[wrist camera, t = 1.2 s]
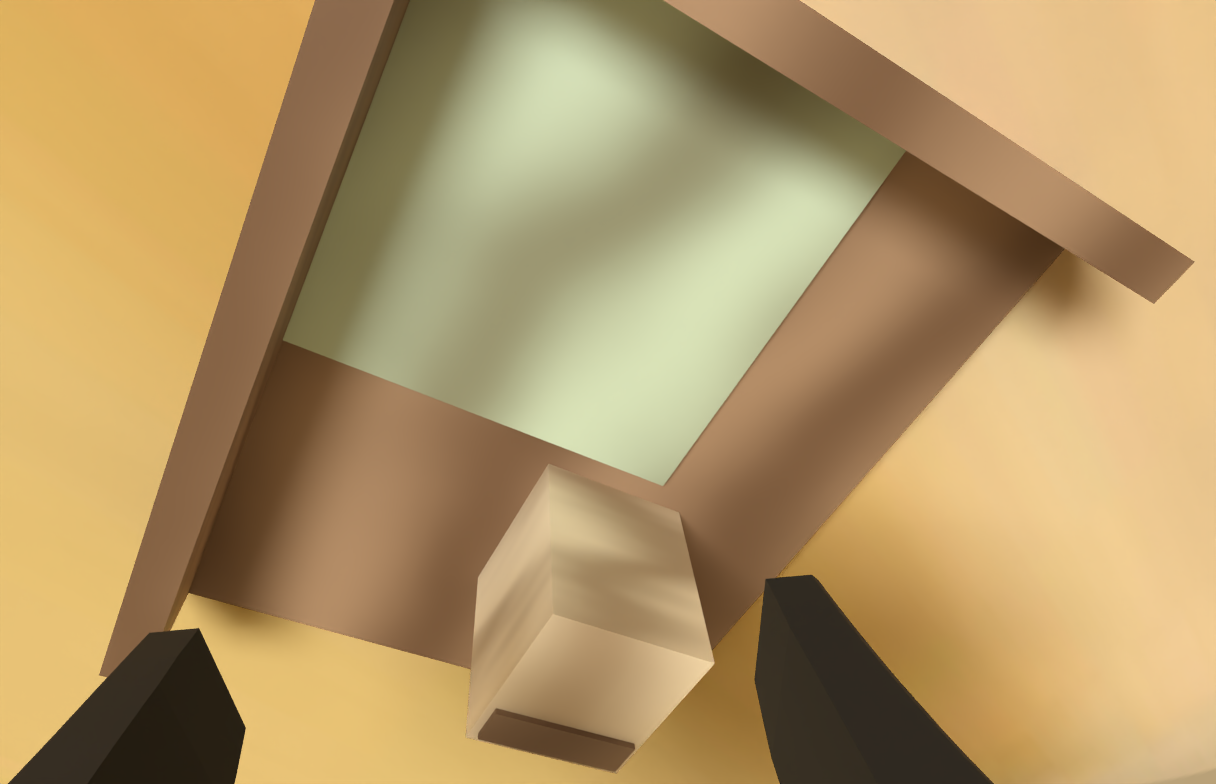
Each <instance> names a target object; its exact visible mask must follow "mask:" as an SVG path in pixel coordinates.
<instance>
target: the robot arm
mask: <svg viewBox="0 0 1216 784" xmlns="http://www.w3.org/2000/svg"><path fill="white" fill-rule="evenodd" d="M755 684H756V689H757V694H758V699H759V703H760V708H761V713H762V717H763V722H764V727H765V731H766V735H767V740H768V744H769V749H770V753H771V757H772V761H773V764H774V767H775V770H776V773H777V776H778V779H779V782H780V784H994V783H993V782H992V781H991V780H990V779H989V778H988V777H987V776H986V775H985V774H984V773H983V772H982V771H981V770H980V769H979V768H978V767H977V766H976V765H975V764H974V763H973V762H972V761H971V760H970V759H969V758H968V757H967V756H966V755H965V754H964V752H963V751H962V750H961V749H960V748H959V747H958V746H957V745H956V744H955V743H954V742H953V741H952V740H951V738H950V737H949V736H948V735H947V734H946V733H945V732H944V731H943V730H942V729H941V728H940V727H939V725H938V724H937V723H936V722H935V721H934V720H933V719H932V718H931V716H930V715H929V714H928V713H927V712H926V711H925V710H924V709H923V707H922V706H921V705H920V704H919V703H918V702H917V701H916V700H915V698H914V697H913V696H912V695H911V694H910V693H909V692H908V691H907V689H906V688H905V687H904V686H903V685H902V684H901V683H900V681H899V680H898V679H897V678H896V677H895V676H894V674H893V673H892V672H891V671H890V670H889V669H888V667H887V666H886V665H885V664H884V663H883V661H882V660H881V659H880V658H879V657H878V655H877V654H876V653H875V652H874V650H873V649H872V648H871V647H870V646H869V644H868V643H867V642H866V641H865V639H864V638H863V637H862V636H861V635H860V633H859V632H858V631H857V630H856V628H855V627H854V626H853V625H852V623H851V622H850V621H849V619H848V618H847V617H846V616H845V614H844V613H843V612H842V611H841V609H840V608H839V607H838V605H837V604H836V603H835V602H834V600H833V599H832V598H831V596H830V595H829V594H828V592H827V591H826V590H825V588H824V587H823V586H822V584H821V583H820V582H819V581H818V580H817V579H816V578H815V577H814V576H812V575H804V576H792V577H781V578H769V579H765V588H764V597H763V606H762V616H761V625H760V634H759V644H758V653H757V662H756V671H755ZM245 729H246V727H245V725H244V723H243V721H242V719H241V717H240V715H239V713H238V710H237V708H236V706H235V704H234V702H233V700H232V698H231V695H230V693H229V691H228V689H227V687H226V685H225V683H224V681H223V678H222V676H221V674H220V672H219V670H218V668H217V666H216V663H215V661H214V659H213V657H212V655H211V653H210V651H209V648H208V646H207V644H206V642H205V640H204V638H203V636H202V634H201V631H200V629H199V628H197V629H186V630H175V631H163V632H152V633H149V634H148V635H147V636H146V637H145V638H144V639H143V640H142V641H141V642H140V643H139V644H138V645H137V646H136V647H135V648H134V649H133V650H132V651H131V653H130V654H129V655H128V656H127V657H126V658H125V659H124V660H123V661H122V662H121V663H120V664H119V665H118V667H117V668H116V669H115V670H114V671H113V672H112V673H111V674H110V675H109V676H108V677H107V678H106V679H105V681H104V682H103V683H102V684H101V685H100V686H99V687H98V688H97V689H96V690H95V691H94V692H93V694H92V695H91V696H90V697H89V698H88V699H87V700H86V701H85V702H84V703H83V704H82V705H81V707H80V708H79V709H78V710H77V711H76V712H75V713H74V714H73V715H72V716H71V717H70V718H69V720H68V721H67V722H66V723H65V724H64V725H63V726H62V727H61V728H60V729H59V730H58V731H57V732H56V734H55V735H54V736H53V737H52V738H51V739H50V740H49V741H48V742H47V743H46V744H45V745H44V746H43V747H42V749H41V750H40V751H39V752H38V753H37V754H36V755H35V756H34V757H33V758H32V759H31V760H30V761H29V762H28V763H27V764H26V765H25V766H24V767H23V768H22V770H21V771H20V772H19V773H18V774H17V775H16V776H15V777H14V778H13V779H12V780H11V781H10V782H9V783H8V784H234V783H235V778H236V774H237V769H238V764H239V759H240V754H241V749H242V744H243V739H244V734H245Z"/></svg>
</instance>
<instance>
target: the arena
mask: <svg viewBox="0 0 1216 784" xmlns="http://www.w3.org/2000/svg"><path fill="white" fill-rule="evenodd" d="M1064 249H1066V250H1068V251H1069V252H1071V253H1073V254H1074V255H1076V256H1077V257H1079V258H1081V259H1082V260H1084V261H1086V262H1087V263H1089V264H1090V265H1092V266H1094V267H1095V268H1097V269H1098V270H1100V271H1102V272H1103V273H1105V274H1107V275H1108V276H1110V277H1111V278H1113V279H1115V280H1116V281H1118V282H1119V283H1121V284H1123V285H1124V286H1126V287H1128V288H1129V289H1131V290H1132V291H1134V292H1136V293H1137V294H1139V295H1141V296H1142V297H1144V298H1145V299H1147V300H1149V301H1150V302H1152V303H1153V304H1154V303H1155V302H1156V301H1157V300H1158V299H1159V298H1160V297H1161V296H1162V295H1163V294H1164V293H1165V292H1166V291H1167V290H1168V289H1169V288H1170V287H1171V286H1172V285H1173V284H1174V283H1175V282H1176V281H1177V280H1178V279H1179V278H1180V276H1181V275H1182V274H1183V273H1184V272H1185V271H1186V270H1187V269H1188V268H1189V267H1190V266H1191V265H1192V264H1193V263H1194V261H1193V260H1191V259H1190V258H1188V257H1187V256H1185V255H1183V254H1182V253H1180V252H1179V251H1177V250H1176V249H1174V248H1173V247H1171V246H1170V245H1168V244H1167V243H1165V242H1164V241H1162V240H1161V239H1159V238H1158V237H1156V236H1155V235H1153V234H1152V233H1150V232H1149V231H1147V230H1146V229H1144V228H1143V227H1141V226H1140V225H1138V224H1137V223H1135V222H1134V221H1132V220H1131V219H1129V218H1128V217H1126V216H1125V215H1123V214H1122V213H1120V212H1119V211H1117V210H1115V209H1114V208H1112V207H1111V206H1109V205H1108V204H1106V203H1105V202H1103V201H1102V200H1100V199H1099V198H1097V197H1096V196H1094V195H1093V194H1091V193H1090V192H1088V191H1087V190H1085V189H1084V188H1082V187H1081V186H1079V185H1078V184H1076V183H1075V182H1073V181H1072V180H1070V179H1069V178H1067V177H1066V176H1064V175H1063V174H1061V173H1060V172H1058V171H1057V170H1055V169H1054V168H1052V167H1051V166H1049V165H1047V164H1046V163H1044V162H1043V161H1041V160H1040V159H1038V158H1037V157H1035V156H1034V155H1032V154H1031V153H1029V152H1028V151H1026V150H1025V149H1023V148H1022V147H1020V146H1019V145H1017V144H1016V143H1014V142H1013V141H1011V140H1010V139H1008V138H1007V137H1005V136H1004V135H1002V134H1001V133H999V132H998V131H996V130H995V129H993V128H992V127H990V126H989V125H987V124H986V123H984V122H983V121H981V120H979V119H978V118H976V117H975V116H973V115H972V114H970V113H969V112H967V111H966V110H964V109H963V108H961V107H960V106H958V105H957V104H955V103H954V102H952V101H951V100H949V99H948V98H946V97H945V96H943V95H942V94H940V93H939V92H937V91H936V90H934V89H933V88H931V87H930V86H928V85H927V84H925V83H924V82H922V81H921V80H919V79H918V78H916V77H915V76H913V75H911V74H910V73H908V72H907V71H905V70H904V69H902V68H901V67H899V66H898V65H896V64H895V63H893V62H892V61H890V60H889V59H887V58H886V57H884V56H883V55H881V54H880V53H878V52H877V51H875V50H874V49H872V48H871V47H869V46H868V45H866V44H865V43H863V42H862V41H860V40H859V39H857V38H856V37H854V36H853V35H851V34H850V33H848V32H847V31H845V30H843V29H842V28H840V27H839V26H837V25H836V24H834V23H833V22H831V21H830V20H828V19H827V18H825V17H824V16H822V15H821V14H819V13H818V12H816V11H815V10H813V9H812V8H810V7H809V6H807V5H806V4H804V3H803V2H801V1H800V0H315V3H314V6H313V9H312V12H311V15H310V18H309V21H308V25H307V28H306V31H305V34H304V37H303V40H302V43H301V46H300V49H299V53H298V56H297V59H296V62H295V65H294V68H293V71H292V74H291V78H290V81H289V84H288V87H287V90H286V93H285V96H284V99H283V103H282V106H281V109H280V112H279V115H278V118H277V121H276V124H275V128H274V131H273V134H272V137H271V140H270V143H269V146H268V149H267V153H266V156H265V159H264V162H263V165H262V168H261V171H260V174H259V178H258V181H257V184H256V187H255V190H254V193H253V196H252V199H251V202H250V206H249V209H248V212H247V215H246V218H245V221H244V224H243V227H242V231H241V234H240V237H239V240H238V243H237V246H236V249H235V252H234V256H233V259H232V262H231V265H230V268H229V271H228V274H227V277H226V281H225V284H224V287H223V290H222V293H221V296H220V299H219V302H218V306H217V309H216V312H215V315H214V318H213V321H212V324H211V327H210V330H209V334H208V337H207V340H206V343H205V346H204V349H203V352H202V355H201V359H200V362H199V365H198V368H197V371H196V374H195V377H194V380H193V384H192V387H191V390H190V393H189V396H188V399H187V402H186V405H185V409H184V412H183V415H182V418H181V421H180V424H179V427H178V430H177V434H176V437H175V440H174V443H173V446H172V449H171V452H170V455H169V459H168V462H167V465H166V468H165V471H164V474H163V477H162V480H161V483H160V487H159V490H158V493H157V496H156V499H155V502H154V505H153V508H152V512H151V515H150V518H149V521H148V524H147V527H146V530H145V533H144V537H143V540H142V543H141V546H140V549H139V552H138V555H137V558H136V562H135V565H134V568H133V571H132V574H131V577H130V580H129V583H128V587H127V590H126V593H125V596H124V599H123V602H122V605H121V608H120V611H119V615H118V618H117V621H116V624H115V627H114V630H113V633H112V636H111V640H110V643H109V646H108V649H107V652H106V655H105V658H104V661H103V665H102V668H101V671H100V674H99V675H100V676H104V677H108V676H109V675H110V674H111V673H112V672H113V671H114V670H115V669H116V668H117V667H118V665H119V664H120V663H121V662H122V661H123V660H124V659H125V658H126V657H127V656H128V655H129V654H130V653H131V651H132V650H133V649H134V648H135V647H136V646H137V645H138V644H139V643H140V642H141V641H142V640H143V639H144V638H145V637H146V636H147V635H148V634H149V633H152V632H163V631H170V630H171V628H172V626H173V624H174V622H175V619H176V617H177V615H178V613H179V611H180V609H181V607H182V605H183V603H184V601H185V599H186V597H187V595H188V593H191V594H195V595H198V596H202V597H206V598H210V599H213V600H217V601H221V602H224V603H228V604H232V605H235V606H239V607H243V608H247V609H250V610H254V611H258V612H261V613H265V614H269V615H272V616H276V617H280V618H283V619H287V620H291V621H295V622H298V623H302V624H306V625H309V626H313V627H317V628H320V629H324V630H328V631H332V632H335V633H339V634H343V635H346V636H350V637H354V638H357V639H361V640H365V641H369V642H372V643H376V644H380V645H383V646H387V647H391V648H394V649H398V650H402V651H406V652H409V653H413V654H417V655H420V656H424V657H428V658H431V659H435V660H439V661H443V662H446V663H450V664H454V665H457V666H461V667H465V668H468V669H471V661H472V648H473V635H474V623H475V610H476V597H477V584H478V577H479V575H480V573H481V572H482V570H483V569H484V567H485V565H486V564H487V562H488V561H489V559H490V557H491V556H492V554H493V552H494V551H495V549H496V548H497V546H498V544H499V543H500V541H501V540H502V538H503V536H504V535H505V533H506V532H507V530H508V528H509V527H510V525H511V523H512V522H513V520H514V519H515V517H516V515H517V514H518V512H519V511H520V509H521V507H522V506H523V504H524V503H525V501H526V499H527V498H528V496H529V494H530V493H531V491H532V490H533V488H534V486H535V485H536V483H537V482H538V480H539V478H540V477H541V475H542V474H543V472H544V470H545V469H546V467H547V465H548V464H551V465H553V466H556V467H559V468H561V469H564V470H567V471H569V472H572V473H575V474H577V475H580V476H583V477H585V478H588V479H591V480H593V481H596V482H599V483H601V484H604V485H607V486H609V487H612V488H615V489H617V490H620V491H623V492H625V493H628V494H631V495H633V496H636V497H639V498H641V499H644V500H647V501H649V502H652V503H655V504H658V505H660V506H663V507H666V508H668V509H671V510H674V511H676V512H679V514H680V519H681V523H682V527H683V531H684V535H685V540H686V544H687V548H688V552H689V557H690V561H691V565H692V569H693V574H694V578H695V582H696V586H697V590H698V595H699V599H700V603H701V607H702V612H703V616H704V620H705V624H706V628H707V633H708V637H709V641H710V645H711V650H713V649H714V647H715V646H716V645H717V644H718V643H719V642H720V641H721V639H722V638H723V637H724V636H725V635H726V634H727V633H728V631H729V630H730V629H731V628H732V627H733V626H734V625H735V623H736V622H737V621H738V620H739V619H740V618H741V617H742V616H743V614H744V613H745V612H746V611H747V610H748V609H749V608H750V606H751V605H752V604H753V603H754V602H755V601H756V600H757V598H758V597H759V596H760V595H761V594H762V593H763V592H764V588H765V579H769V578H776V577H777V576H778V575H779V573H780V572H781V571H782V570H783V569H784V568H785V567H786V565H787V564H788V563H789V562H790V561H791V560H792V559H793V557H794V556H795V555H796V554H797V553H798V552H799V551H800V550H801V548H802V547H803V546H804V545H805V544H806V543H807V542H808V540H809V539H810V538H811V537H812V536H813V535H814V534H815V532H816V531H817V530H818V529H819V528H820V527H821V526H822V524H823V523H824V522H825V521H826V520H827V519H828V518H829V516H830V515H831V514H832V513H833V512H834V511H835V510H836V509H837V507H838V506H839V505H840V504H841V503H842V502H843V501H844V499H845V498H846V497H847V496H848V495H849V494H850V493H851V491H852V490H853V489H854V488H855V487H856V486H857V485H858V483H859V482H860V481H861V480H862V479H863V478H864V477H865V476H866V474H867V473H868V472H869V471H870V470H871V469H872V468H873V466H874V465H875V464H876V463H877V462H878V461H879V460H880V458H881V457H882V456H883V455H884V454H885V453H886V452H887V450H888V449H889V448H890V447H891V446H892V445H893V444H894V443H895V441H896V440H897V439H898V438H899V437H900V436H901V435H902V433H903V432H904V431H905V430H906V429H907V428H908V427H909V425H910V424H911V423H912V422H913V421H914V420H915V419H916V417H917V416H918V415H919V414H920V413H921V412H922V411H923V410H924V408H925V407H926V406H927V405H928V404H929V403H930V402H931V400H932V399H933V398H934V397H935V396H936V395H937V394H938V392H939V391H940V390H941V389H942V388H943V387H944V386H945V384H946V383H947V382H948V381H949V380H950V379H951V378H952V376H953V375H954V374H955V373H956V372H957V371H958V370H959V369H960V367H961V366H962V365H963V364H964V363H965V362H966V361H967V359H968V358H969V357H970V356H971V355H972V354H973V353H974V351H975V350H976V349H977V348H978V347H979V346H980V345H981V343H982V342H983V341H984V340H985V339H986V338H987V337H988V336H989V334H990V333H991V332H992V331H993V330H994V329H995V328H996V326H997V325H998V324H999V323H1000V322H1001V321H1002V320H1003V318H1004V317H1005V316H1006V315H1007V314H1008V313H1009V312H1010V310H1011V309H1012V308H1013V307H1014V306H1015V305H1016V304H1017V303H1018V301H1019V300H1020V299H1021V298H1022V297H1023V296H1024V295H1025V293H1026V292H1027V291H1028V290H1029V289H1030V288H1031V287H1032V285H1033V284H1034V283H1035V282H1036V281H1037V280H1038V279H1039V277H1040V276H1041V275H1042V274H1043V273H1044V272H1045V271H1046V270H1047V268H1048V267H1049V266H1050V265H1051V264H1052V263H1053V262H1054V260H1055V259H1056V258H1057V257H1058V256H1059V255H1060V254H1061V252H1062V251H1063V250H1064Z"/></svg>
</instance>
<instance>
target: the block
mask: <svg viewBox="0 0 1216 784" xmlns="http://www.w3.org/2000/svg"><path fill="white" fill-rule="evenodd" d="M714 664H715V662H714V658H713V654H712V650H711V645H710V641H709V637H708V633H707V628H706V624H705V620H704V616H703V612H702V607H701V603H700V599H699V595H698V590H697V586H696V582H695V578H694V574H693V569H692V565H691V561H690V557H689V552H688V548H687V544H686V540H685V535H684V531H683V527H682V523H681V519H680V514H679V512H676V511H674V510H671V509H668V508H666V507H663V506H660V505H658V504H655V503H652V502H649V501H647V500H644V499H641V498H639V497H636V496H633V495H631V494H628V493H625V492H623V491H620V490H617V489H615V488H612V487H609V486H607V485H604V484H601V483H599V482H596V481H593V480H591V479H588V478H585V477H583V476H580V475H577V474H575V473H572V472H569V471H567V470H564V469H561V468H559V467H556V466H553V465H551V464H548V465H547V467H546V469H545V470H544V472H543V474H542V475H541V477H540V478H539V480H538V482H537V483H536V485H535V486H534V488H533V490H532V491H531V493H530V494H529V496H528V498H527V499H526V501H525V503H524V504H523V506H522V507H521V509H520V511H519V512H518V514H517V515H516V517H515V519H514V520H513V522H512V523H511V525H510V527H509V528H508V530H507V532H506V533H505V535H504V536H503V538H502V540H501V541H500V543H499V544H498V546H497V548H496V549H495V551H494V552H493V554H492V556H491V557H490V559H489V561H488V562H487V564H486V565H485V567H484V569H483V570H482V572H481V573H480V575H479V577H478V584H477V597H476V610H475V623H474V635H473V648H472V661H471V674H470V687H469V700H468V713H467V726H466V738H470V739H474V740H478V741H482V742H487V743H491V744H495V745H499V746H503V747H507V748H512V749H516V750H520V751H524V752H528V753H532V754H537V755H541V756H545V757H549V758H553V759H557V760H562V761H566V762H570V763H574V764H578V765H583V766H587V767H591V768H595V769H599V770H603V771H608V772H612V773H616V774H617V773H618V771H619V770H620V769H621V768H622V767H623V766H624V765H625V764H626V762H627V761H628V760H629V759H630V758H631V757H632V756H633V755H634V753H635V752H636V751H637V750H638V749H639V748H640V747H641V746H642V744H643V743H644V742H645V741H646V740H647V739H648V738H649V737H650V736H651V734H652V733H653V732H654V731H655V730H656V729H657V728H658V727H659V725H660V724H661V723H662V722H663V721H664V720H665V719H666V718H667V716H668V715H669V714H670V713H671V712H672V711H673V710H674V709H675V708H676V706H677V705H678V704H679V703H680V702H681V701H682V700H683V699H684V697H685V696H686V695H687V694H688V693H689V692H690V691H691V690H692V688H693V687H694V686H695V685H696V684H697V683H698V682H699V681H700V679H701V678H702V677H703V676H704V675H705V674H706V673H707V672H708V671H709V669H710V668H711V667H712V666H713V665H714Z"/></svg>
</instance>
